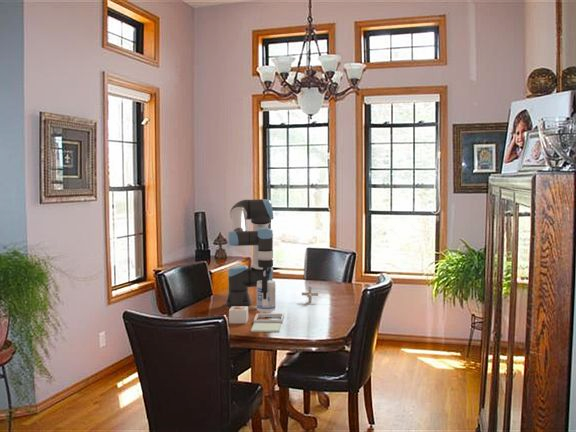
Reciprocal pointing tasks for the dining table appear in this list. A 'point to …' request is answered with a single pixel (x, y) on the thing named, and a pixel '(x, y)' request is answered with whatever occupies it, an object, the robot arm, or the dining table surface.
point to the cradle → (273, 315)
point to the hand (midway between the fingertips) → (266, 303)
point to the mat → (266, 327)
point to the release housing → (238, 314)
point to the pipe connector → (310, 294)
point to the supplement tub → (271, 296)
